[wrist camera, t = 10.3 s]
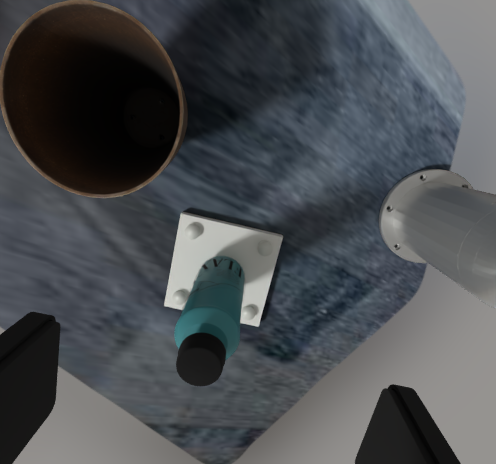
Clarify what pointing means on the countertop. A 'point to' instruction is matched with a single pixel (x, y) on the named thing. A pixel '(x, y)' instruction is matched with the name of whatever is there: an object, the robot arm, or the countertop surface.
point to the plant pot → (92, 99)
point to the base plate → (223, 244)
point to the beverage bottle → (210, 321)
